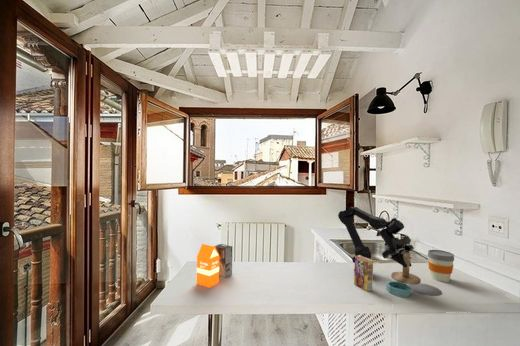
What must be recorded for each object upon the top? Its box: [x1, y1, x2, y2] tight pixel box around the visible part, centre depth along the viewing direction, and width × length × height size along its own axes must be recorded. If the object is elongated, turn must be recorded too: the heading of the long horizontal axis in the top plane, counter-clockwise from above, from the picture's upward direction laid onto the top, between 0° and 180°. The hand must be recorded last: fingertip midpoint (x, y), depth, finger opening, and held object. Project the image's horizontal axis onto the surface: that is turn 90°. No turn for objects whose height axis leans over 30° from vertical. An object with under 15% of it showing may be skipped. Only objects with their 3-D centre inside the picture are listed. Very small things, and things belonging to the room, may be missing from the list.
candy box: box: [353, 255, 374, 291], centre depth 141 cm, size 9×4×15 cm, turn 26°
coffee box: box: [213, 243, 233, 278], centre depth 154 cm, size 9×6×16 cm
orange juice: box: [196, 243, 220, 288], centre depth 142 cm, size 8×9×20 cm
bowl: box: [386, 280, 412, 298], centre depth 136 cm, size 10×10×4 cm
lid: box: [390, 252, 422, 285], centre depth 136 cm, size 13×13×13 cm
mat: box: [407, 282, 443, 297], centre depth 139 cm, size 15×15×1 cm
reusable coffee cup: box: [427, 249, 455, 283], centre depth 153 cm, size 12×12×15 cm
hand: (408, 266), depth 134 cm, fingers closed on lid, 3 cm apart
